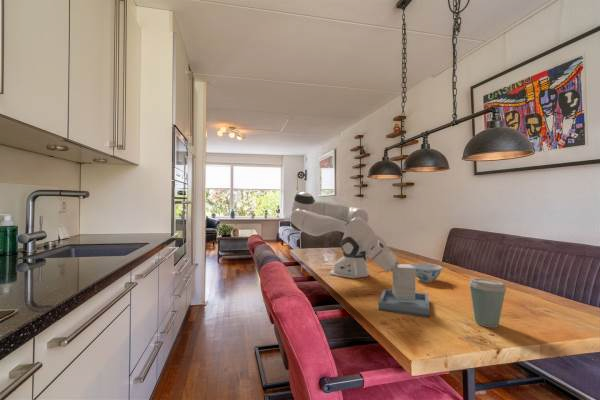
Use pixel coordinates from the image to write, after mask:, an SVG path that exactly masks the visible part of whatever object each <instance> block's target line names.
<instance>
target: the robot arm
mask: <svg viewBox="0 0 600 400" xmlns="http://www.w3.org/2000/svg"><path fill="white" fill-rule="evenodd" d="M313 196H314V195H312V194H311V193H308V192H305V191H301V192H298V193H296V194H295V196H294V197H293V198H294V201H293V203H292V208H291V215H290V227H291V228H292V229H293V230H294V231H298V232H303V233H305V234H307V235H310V236H313V237H320V236H322V235H326V234H328V233H331V232H340V233H344V234H343V236H342V239H341V241H340V249H341V251H342V254H343V256H342V257H340V258H339V259H337V260H336V261H335V262H334V264H333V268H332V269H331V270H330V271H329V274H330V275H332V276H338V277H342V278H343V277H344V278H350V279H357V278H364V277H365V278H366V277H368V276H369V275H370V273H369V270H368V264H367V259H368V258H369V259H370V260H373V261H374V262H375V263H376V264H377V265H378V266H379V267H380V268H381V269H383V271H385V272H387V273H389V272H391V274H393V273H394V274H395V275H396V276H397V277H398V278H400V277H401V276H402V273H401V272H400V271H398V270H397V269H396V267H395V264H400V262H399V261H398V256H397V255H396V254H395V253H394V252H393V251H392V250H391V249H390V248H389V247H387V245H388V243H387V242H386V240H384V238H382V237H381V235H380V234H378V233H376V232H375V231H374V230H373V227H371V226H370V225H369V223H368V221H369V214H368V212H367V211H366V209H364V208H362V207H354V206H350V205H345V204H341V203H334V202H330V201H329V202H328V201H322V200H315V198H314V197H313Z"/></svg>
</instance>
